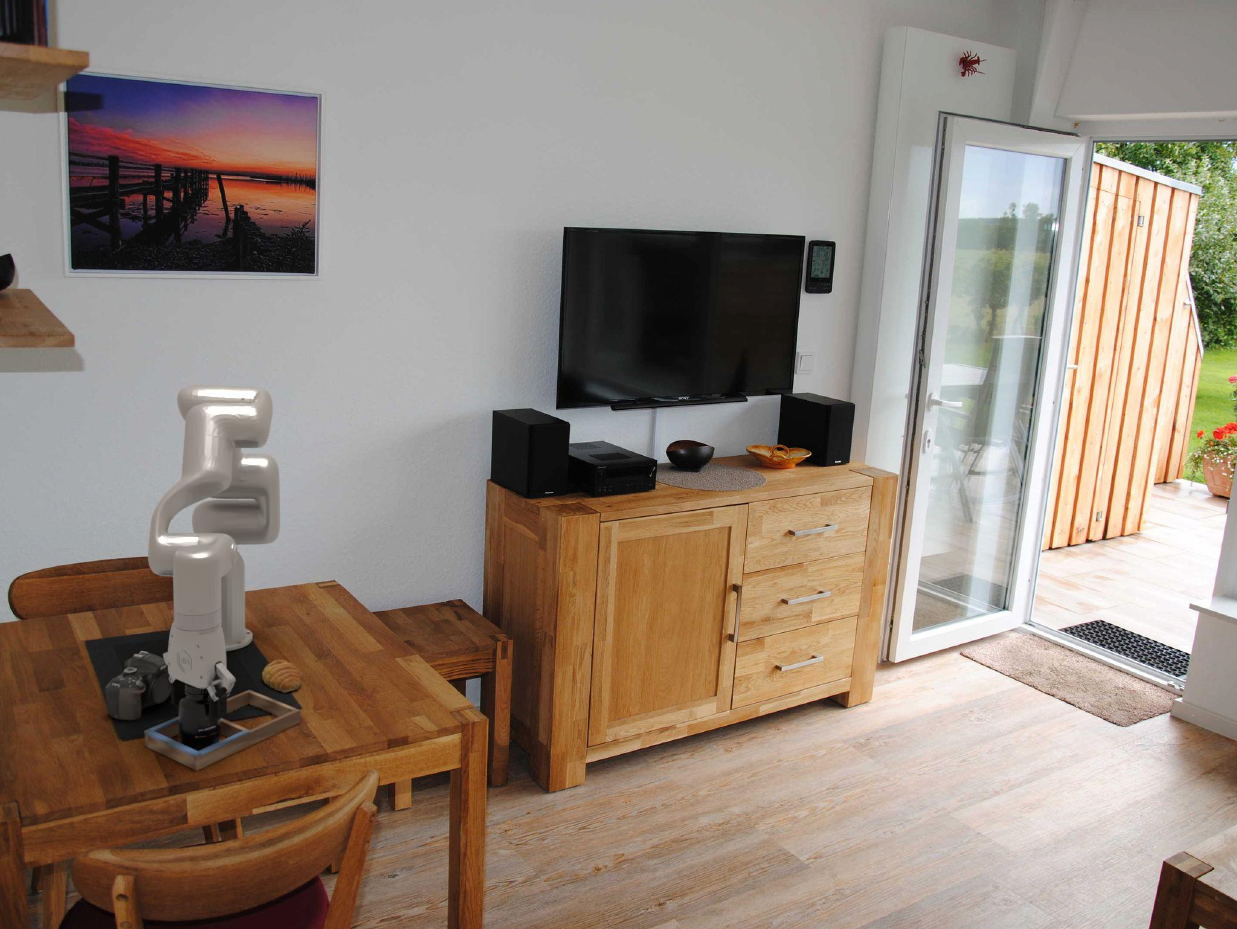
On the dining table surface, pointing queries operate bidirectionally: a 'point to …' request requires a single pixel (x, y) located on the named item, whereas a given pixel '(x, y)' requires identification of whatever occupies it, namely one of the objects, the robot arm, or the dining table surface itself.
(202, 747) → the supplement bottle
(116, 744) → the dining table surface
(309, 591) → the dining table surface
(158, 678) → the camera
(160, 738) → the caddy
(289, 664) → the pastry
